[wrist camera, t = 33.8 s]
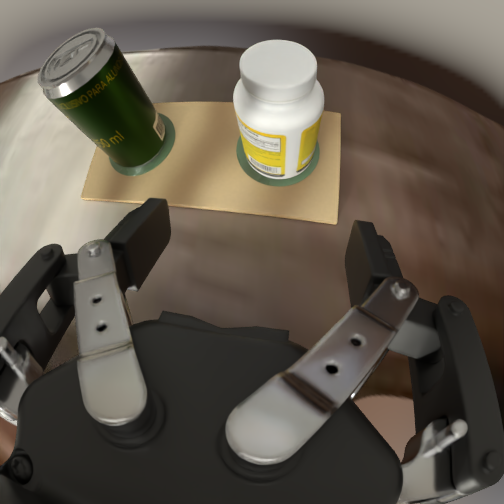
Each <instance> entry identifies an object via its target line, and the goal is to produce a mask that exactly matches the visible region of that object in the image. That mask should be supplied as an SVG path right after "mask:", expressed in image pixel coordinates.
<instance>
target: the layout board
mask: <svg viewBox="0 0 504 504" xmlns="http://www.w3.org/2000/svg"><path fill="white" fill-rule="evenodd" d="M152 104H153V106H154V108H155V109H156V111H157V113H158V114H159V116H160V117H161V119H162V121H163V123H164V125H165V127H166V140H165V144H164V147H163V149H162V151H161V152H160V154H159V155H158V156H157V157H156V158H155V159H154V160H153V161H152V162H150V163H148V164H147V165H145V166H142V167H138V168H126V167H122V166H120V165H118V164H117V163H116V162H114V161H113V160H112V159H111V158H110V157H109V156H108V155H107V154H106V153H105V152H104V151H103V150H101V149H100V148H99V147H98V146H97V147H96V150H95V153H94V156H93V159H92V162H91V165H90V168H89V171H88V174H87V178H86V181H85V184H84V188H83V191H82V195H81V198H82V199H83V200H96V201H112V202H127V203H140V204H144V202H145V201H146V200H147V199H148V198H163V199H166V200H167V202H168V206H177V207H188V208H199V209H209V210H219V211H229V212H238V213H247V214H256V215H264V216H273V217H281V218H289V219H297V220H305V221H312V222H320V223H327V224H334V225H336V224H337V220H338V204H339V184H340V152H341V114H340V113H335V112H329V111H323V114H322V118H321V123H320V127H319V132H318V137H317V142H316V147H315V151H314V155H313V158H312V161H311V163H310V164H309V166H308V167H307V168H306V169H305V170H304V171H303V172H302V173H300V174H298V175H296V176H294V177H291V178H287V179H273V178H269V177H266V176H263V175H261V174H260V173H258V172H257V171H256V170H254V169H253V168H252V166H251V165H250V164H249V162H248V160H247V158H246V155H245V152H244V148H243V143H242V139H241V134H240V130H239V125H238V121H237V117H236V112H235V108H234V102H169V103H152Z"/></svg>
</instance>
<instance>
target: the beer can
mask: <svg viewBox="0 0 504 504" xmlns="http://www.w3.org/2000/svg"><path fill="white" fill-rule="evenodd" d="M38 83H39V85H40V86H41V87H42V88H43V93H44V95H45V96H46V97H47V98H48V99H49V100H50V101H51V102H52V103H53V104H54V105H55V106H56V107H57V108H58V109H59V110H60V111H61V112H62V113H63V114H64V115H65V116H66V117H67V118H68V119H69V120H71V121H72V122H73V123H74V124H75V125H76V126H77V127H78V128H79V129H80V130H81V131H82V132H83V133H84V134H85V135H86V136H87V137H89V138H90V139H91V140H92V141H93V142H94V143H95V144H96V145H97V146H98V147H99V148H100V149H101V150H103V151H104V152H105V153H106V154H107V155H108V156H109V157H110V158H111V159H112V160H113V161H114V162H116V163H117V164H118V165H120V166H122V167H126V168H138V167H142V166H145V165H147V164H148V163H150V162H152V161H153V160H154V159H155V158H156V157H157V156H158V155H159V154H160V152H161V151H162V149H163V147H164V144H165V140H166V127H165V125H164V123H163V121H162V119H161V117H160V116H159V114H158V113H157V111H156V109H155V108H154V106H153V104H152V103H151V101H150V99H149V98H148V96H147V94H146V93H145V91H144V89H143V88H142V86H141V84H140V83H139V81H138V79H137V78H136V76H135V74H134V73H133V71H132V69H131V68H130V66H129V64H128V63H127V61H126V59H125V58H124V56H123V54H122V53H121V51H120V49H119V48H118V46H117V44H116V43H115V41H114V39H113V38H111V37H109V36H107V35H106V34H105V32H104V30H102V29H100V28H91V29H87V30H84V31H82V32H80V33H78V34H76V35H74V36H72V37H71V38H69V39H68V40H66V41H65V42H64V43H62V44H61V45H60V46H59V47H58V48H57V49H56V50H54V51H53V53H52V54H51V55H50V56H49V57H48V58H47V60H46V61H45V63H44V64H43V66H42V67H41V69H40V72H39V74H38Z"/></svg>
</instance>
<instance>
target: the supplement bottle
mask: <svg viewBox="0 0 504 504" xmlns="http://www.w3.org/2000/svg"><path fill="white" fill-rule="evenodd" d="M239 65H240V73H241V78H240V80H239V81H238V83H237V85H236V87H235V90H234V95H233V101H234V108H235V112H236V117H237V121H238V125H239V130H240V134H241V139H242V143H243V148H244V152H245V155H246V158H247V160H248V162H249V164H250V165H251V166H252V168H253V169H254V170H256V171H257V172H258V173H260V174H261V175H263V176H266V177H269V178H273V179H287V178H291V177H294V176H296V175H298V174H300V173H302V172H303V171H304V170H305V169H306V168H307V167H308V166H309V164H310V163H311V161H312V158H313V155H314V151H315V147H316V142H317V137H318V132H319V127H320V123H321V118H322V114H323V109H324V93H323V90H322V87H321V85H320V84H319V82H318V81H317V80H316V74H317V62H316V59H315V57H314V55H313V54H312V53H311V52H310V51H309V50H308V49H307V48H305V47H303V46H302V45H300V44H297V43H295V42H291V41H286V40H269V41H264V42H260V43H258V44H255V45H253V46H252V47H250V48H248V49H247V50H246V51H245V52H244V53H243V55H242V57H241V59H240V64H239Z"/></svg>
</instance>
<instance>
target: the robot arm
mask: <svg viewBox="0 0 504 504" xmlns="http://www.w3.org/2000/svg"><path fill="white" fill-rule="evenodd" d="M170 236H171V227H170V218H169V209H168V202H167V200H166V199H163V198H148V199H147V200H146V201H145V202H144V204H143V205H142V206H141V207H140V208H139V207H138V208H136V209H135V210H133V211H131V212H129V213H128V214H127V215H126V216H125V217H124V218H123V220H121V221H120V222H119V223H118V225H117V226H116V227H115V228H114V229H113V230H112V231H111V232H110V233H109V234H108V235H107V236H106V237H105V239H104V240H102V239H99V240H93V241H90V242H88V243H86V244H84V245H83V246H82V247H81V248H80V249H79V251H78V254H68V255H64V252H63V249H62V247H61V246H60V245H59V244H50V245H47V246H44V247H43V248H41V249H40V250H38V251H37V252H36V253H35V254H34V256H33V257H32V258H31V259H30V260H29V261H28V262H27V263H26V265H25V266H24V267H23V268H22V269H21V270H20V271H19V273H18V274H17V275H16V276H15V277H14V279H13V280H12V281H11V282H10V284H9V285H8V286H7V287H6V289H5V290H4V291H3V292H2V294H1V295H0V414H1V415H2V416H3V417H5V418H6V419H7V420H10V421H14V420H17V434H16V441H15V446H14V450H13V452H12V454H11V456H10V458H9V459H8V460H7V461H6V462H5V463H4V464H3V465H1V466H0V504H415V503H420V504H445V503H448V502H451V501H454V500H457V499H460V498H462V497H465V496H468V495H470V494H473V493H475V492H478V491H480V490H482V489H485V488H487V487H489V486H492V485H494V484H495V483H497V482H498V481H499V480H500V479H501V477H502V476H503V474H504V432H503V426H502V420H501V415H500V410H499V405H498V400H497V396H496V392H495V388H494V384H493V380H492V376H491V372H490V369H489V365H488V362H487V359H486V355H485V352H484V349H483V346H482V343H481V340H480V337H479V334H478V331H477V329H476V326H475V323H474V320H473V318H472V315H471V313H470V310H469V308H468V307H467V305H466V304H465V303H464V302H463V301H461V300H460V299H458V298H456V297H454V296H443V297H442V298H441V299H440V301H439V302H438V304H435V303H432V302H429V301H426V300H424V299H421V298H419V293H418V290H417V288H416V287H415V286H414V285H413V284H412V283H411V282H410V281H408V280H406V279H404V278H403V276H402V273H401V270H400V268H399V265H398V263H397V260H396V259H395V258H396V257H395V255H394V253H393V250H392V247H391V245H390V243H389V242H388V241H387V240H386V239H385V238H384V237H383V236H381V235H377V233H376V230H375V227H374V225H373V223H372V222H365V221H359V220H355V221H354V223H353V227H352V231H351V235H350V239H349V243H348V246H347V250H346V255H345V269H346V275H347V282H348V288H349V295H350V303H351V309H350V310H349V311H348V312H347V313H346V314H345V315H344V316H343V317H342V318H341V319H340V320H339V321H338V322H337V323H336V324H335V325H334V326H333V327H332V328H331V329H330V330H329V331H328V332H327V333H326V334H325V335H324V336H323V337H322V338H321V339H320V340H319V341H318V342H317V343H316V344H315V345H314V346H313V347H312V348H311V349H310V350H308V349H306V348H304V347H303V346H301V345H299V344H297V343H294V342H292V341H289V340H288V338H289V331H288V330H279V329H272V328H264V327H239V328H220V327H217V326H215V325H212V324H210V323H207V322H205V321H202V320H200V319H197V318H195V317H192V316H188V315H182V314H177V313H172V312H167V311H162V313H161V315H160V317H159V320H148V321H143V322H140V323H136V324H133V320H132V317H131V313H130V310H129V306H128V303H127V299H126V296H125V292H126V290H127V289H128V290H133V291H138V290H139V289H140V287H141V285H142V284H143V282H144V281H145V279H146V277H147V276H148V274H149V272H150V271H151V269H152V268H153V266H154V265H155V263H156V261H157V260H158V258H159V257H160V255H161V254H162V252H163V251H164V249H165V248H166V246H167V244H168V243H169V240H170ZM45 289H47V291H48V293H49V295H50V297H51V298H50V300H49V301H48V303H47V304H46V306H45V307H44V308H43V310H42V311H41V313H40V314H39V313H38V310H37V301H38V299H39V297H40V296H41V295H42V293H43V292H44V291H45ZM74 316H75V319H76V330H77V340H78V348H79V355H78V356H76V357H74V358H72V359H71V360H69V361H67V362H65V363H64V364H62V365H60V366H58V367H57V368H55V369H53V370H51V371H49V372H48V373H46V374H44V373H43V372H44V370H45V368H46V366H47V364H48V362H49V360H50V358H51V357H52V355H53V353H54V351H55V349H56V347H57V346H58V344H59V342H60V340H61V338H62V337H63V335H64V333H65V332H66V330H67V328H68V326H69V325H70V323H71V321H72V320H73V318H74ZM389 350H391V351H394V352H397V353H400V354H403V355H406V356H408V360H409V367H410V375H411V383H412V392H413V402H414V414H415V428H416V435H414V436H413V437H412V438H411V439H410V440H409V441H408V443H407V445H406V447H405V453H404V458H403V460H402V462H400V460H399V458H398V456H397V454H396V453H395V451H394V450H393V449H392V448H391V447H390V446H389V444H388V443H387V442H386V440H385V439H384V438H383V437H382V436H381V435H380V433H379V432H378V431H377V430H376V429H375V427H374V426H373V425H372V424H371V422H370V421H369V420H368V419H367V418H366V416H365V415H364V414H363V413H362V411H361V410H360V409H359V408H358V407H357V405H356V404H355V403H354V402H353V399H354V397H355V396H356V395H357V394H358V392H359V391H360V390H361V388H362V387H363V385H364V384H365V383H366V381H367V380H368V379H369V377H370V376H371V375H372V373H373V372H374V371H375V369H376V368H377V367H378V365H379V364H380V363H381V361H382V360H383V358H384V357H385V355H386V354H387V353H388V351H389Z"/></svg>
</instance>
